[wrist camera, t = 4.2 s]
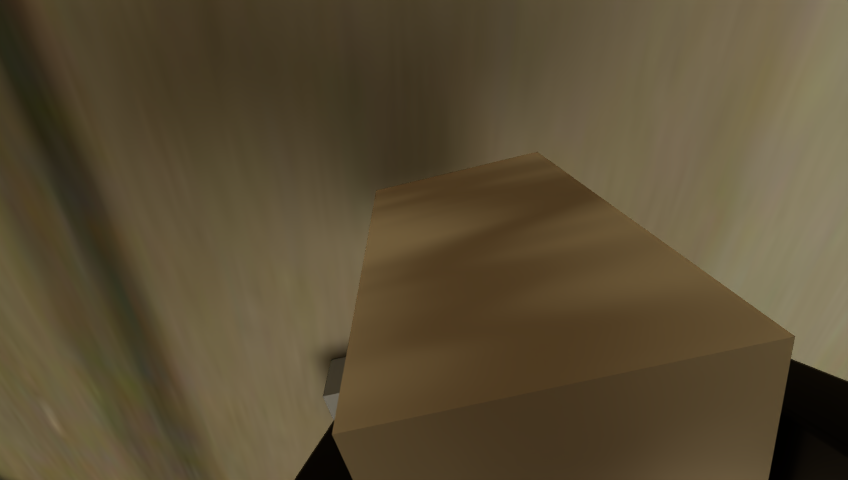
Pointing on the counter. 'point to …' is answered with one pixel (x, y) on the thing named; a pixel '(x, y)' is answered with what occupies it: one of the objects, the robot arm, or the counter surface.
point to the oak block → (547, 342)
